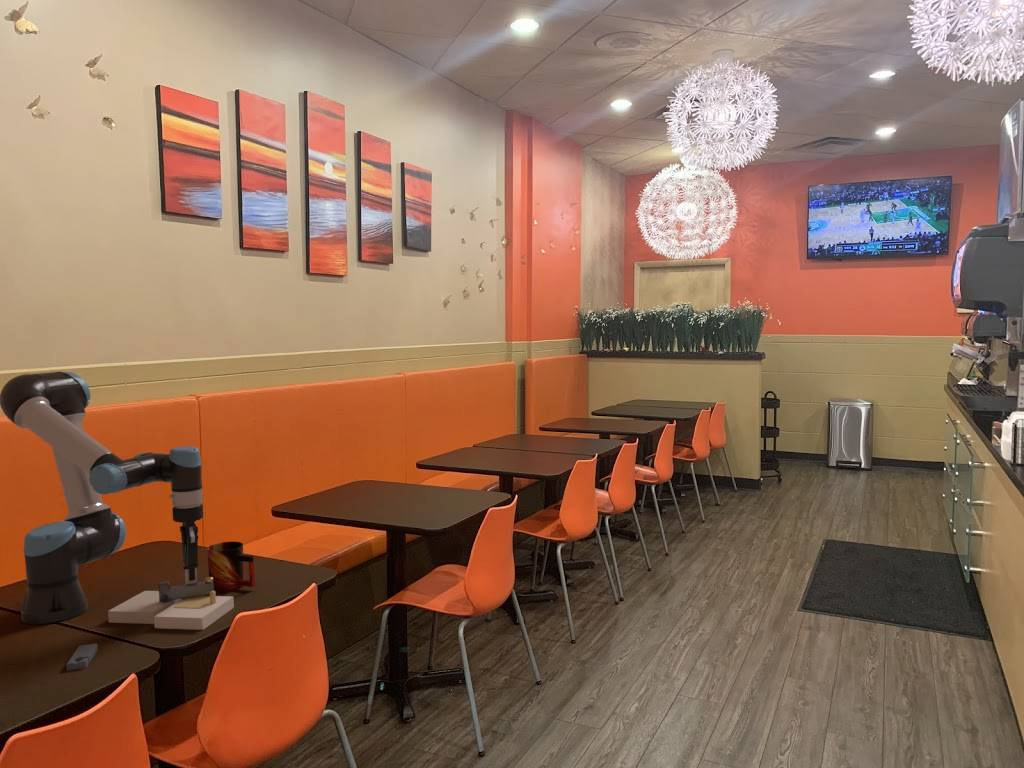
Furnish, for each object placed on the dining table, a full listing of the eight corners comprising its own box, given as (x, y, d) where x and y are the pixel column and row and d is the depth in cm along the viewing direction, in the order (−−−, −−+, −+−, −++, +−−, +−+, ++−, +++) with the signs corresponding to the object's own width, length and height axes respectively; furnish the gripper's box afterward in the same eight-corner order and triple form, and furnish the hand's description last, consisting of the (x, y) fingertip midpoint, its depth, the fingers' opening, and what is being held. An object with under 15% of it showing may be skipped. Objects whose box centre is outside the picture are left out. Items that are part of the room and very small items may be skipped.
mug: (254, 591, 214) (252, 549, 213) (204, 593, 213) (202, 551, 212) (263, 579, 224) (261, 540, 223) (215, 582, 223) (213, 542, 222)
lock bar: (159, 602, 197) (157, 585, 197) (159, 599, 199) (158, 582, 199) (214, 594, 202) (213, 577, 202) (213, 591, 205) (212, 574, 204)
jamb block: (108, 622, 193) (108, 611, 193) (145, 601, 208) (144, 590, 208) (153, 623, 191) (152, 612, 191) (187, 602, 206) (186, 591, 206)
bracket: (98, 651, 177) (97, 642, 177) (86, 670, 167) (85, 661, 167) (79, 653, 176) (78, 645, 176) (66, 673, 166) (65, 664, 166)
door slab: (154, 628, 189) (153, 604, 188) (188, 606, 203) (187, 584, 203) (202, 629, 187) (201, 606, 186) (233, 607, 201) (232, 585, 201)
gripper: (168, 502, 204) (173, 586, 206) (175, 512, 194) (180, 601, 196) (198, 498, 208) (202, 581, 210) (207, 507, 198) (211, 595, 200)
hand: (191, 590), depth 203 cm, fingers closed
